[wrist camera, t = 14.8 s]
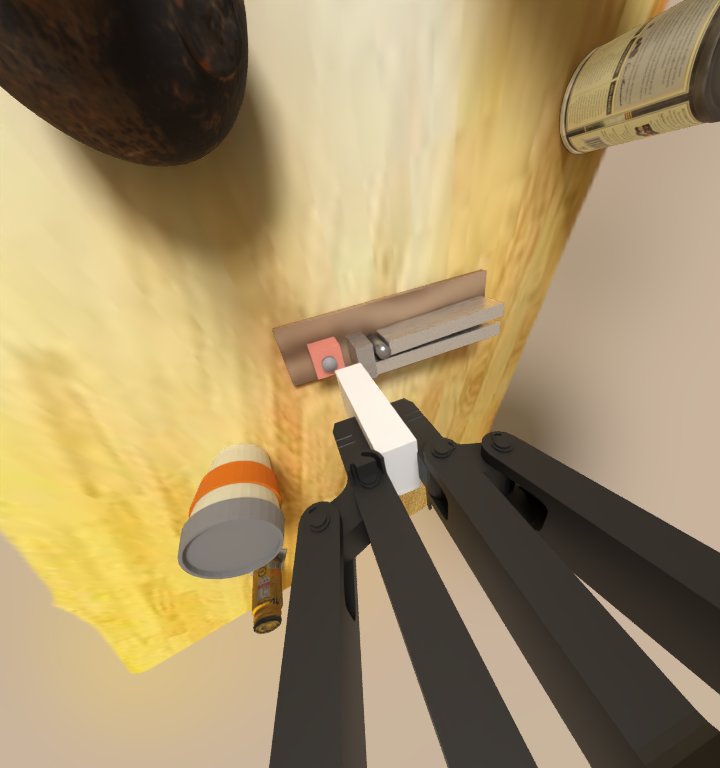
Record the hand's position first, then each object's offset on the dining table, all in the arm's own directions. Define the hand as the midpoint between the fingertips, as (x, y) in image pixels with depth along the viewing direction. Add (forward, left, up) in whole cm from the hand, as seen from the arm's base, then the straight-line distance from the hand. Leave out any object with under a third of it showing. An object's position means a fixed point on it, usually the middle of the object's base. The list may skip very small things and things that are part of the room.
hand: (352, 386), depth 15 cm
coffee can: (-14, +43, -25) cm, 52 cm away
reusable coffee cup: (+24, -18, -25) cm, 39 cm away
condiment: (+55, -25, -25) cm, 65 cm away
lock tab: (+8, +1, -23) cm, 25 cm away
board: (+8, +11, -24) cm, 28 cm away
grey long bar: (+9, +16, -23) cm, 30 cm away
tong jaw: (+8, +17, -23) cm, 30 cm away
